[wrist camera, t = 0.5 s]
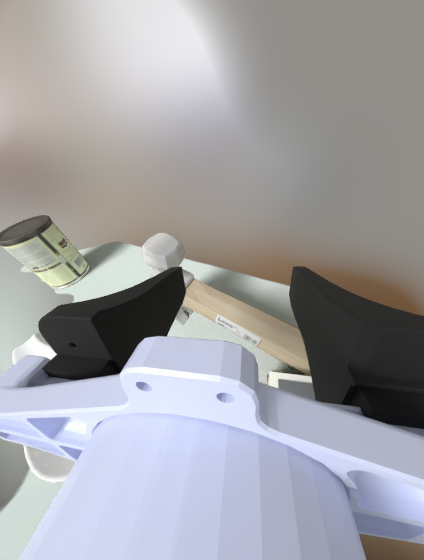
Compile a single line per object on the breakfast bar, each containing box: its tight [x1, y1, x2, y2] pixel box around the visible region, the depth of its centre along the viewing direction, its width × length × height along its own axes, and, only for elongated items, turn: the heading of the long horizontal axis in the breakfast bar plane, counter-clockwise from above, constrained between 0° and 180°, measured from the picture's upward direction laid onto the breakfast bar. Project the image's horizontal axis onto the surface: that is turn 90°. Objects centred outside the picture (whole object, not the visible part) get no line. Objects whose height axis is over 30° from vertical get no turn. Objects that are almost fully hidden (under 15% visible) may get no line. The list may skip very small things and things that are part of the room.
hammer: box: [142, 233, 311, 376], centre depth 24 cm, size 16×5×30 cm
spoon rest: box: [12, 333, 76, 483], centre depth 25 cm, size 24×12×7 cm, turn 57°
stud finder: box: [268, 371, 316, 401], centre depth 19 cm, size 4×6×4 cm, turn 80°
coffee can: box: [0, 215, 90, 289], centre depth 43 cm, size 10×10×14 cm
